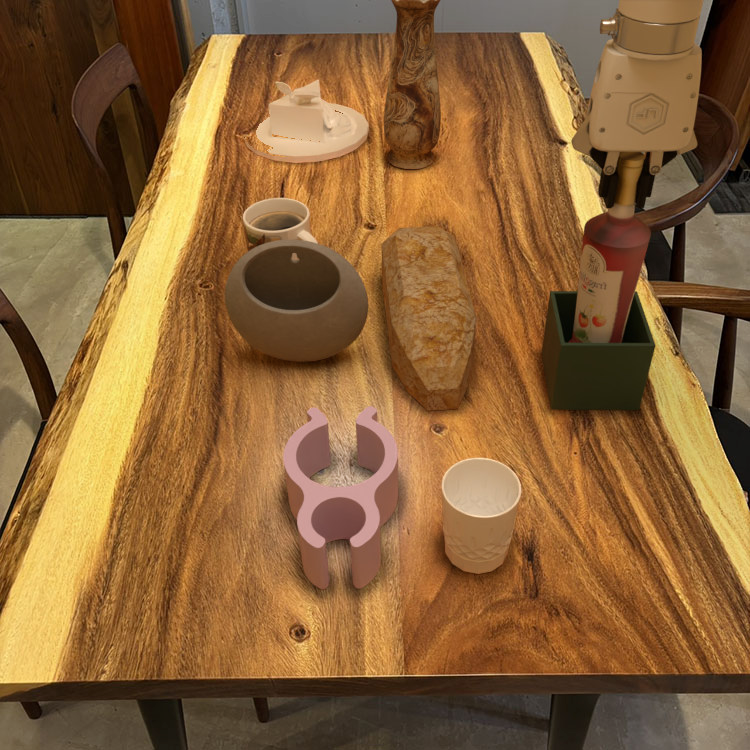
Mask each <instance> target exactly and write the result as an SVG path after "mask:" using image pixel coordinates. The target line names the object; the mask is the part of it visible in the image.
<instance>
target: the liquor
mask: <svg viewBox="0 0 750 750" xmlns="http://www.w3.org/2000/svg"><path fill="white" fill-rule="evenodd" d="M644 157H645V153H643V152H620V153H619V157H618V161H617V165H616V167H617V173H618V175H619V180H618V185H617V191H616V196H615V202H614V207H612V208H607V211H606V212H602V213H600V214H598V215H595V216H593V217H590V219H588V220H587V221H586V222H585V223H584V225H583V226H584V227H583V235H582V244H581V253H580V261H579V271H578V272H579V273H578V282H577V283H578V284H577V291H578V295H577V303H576V312H575V320H574V328H573V335H572V339H571V340H570V341H569V343H621V342H622V338H623V334H624V330H625V326H626V322H627V318H628V315H629V311H630V307H631V303H632V300H633V297H634V293H635V291H637V287H638V283H639V280H640V276H641V274H642V269H643V265H644V262H645V257H646V253H647V251H648V248H649V247H648V246H649V243H650V240H651V235H652V232H651V229H650V227H649V226H648V225H647V224H646V223H645V222H644V221H643V220H641V219H640V218H639V217H638V216H636V215H635V208H636V204H635V200H636V190H637V182H638V180H639V177H640V174H641V172H642V167H643V162H644Z"/></svg>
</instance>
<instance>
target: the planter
mask: <svg viewBox="0 0 750 750" xmlns="http://www.w3.org/2000/svg"><path fill="white" fill-rule="evenodd" d="M292 253H296V254H297V258H298V259H299V260H293V259H291V258H292V255H293V254H292ZM224 288H225V289H224V290H225V291H224V303H225V308H226V312H227V315H228V318H229V320H230V322H231V324H232V325H233V327H234V329H235V330H236V332H237V333H238V334H239V336H240V337H241V338H242V339H243V340H244V341H245V342H247V343H248V344H249V346H250V345H251V347H253V348H254V349H256V350H257V351H259V352H261V353H263V354H265V355H267V356H269V357H272V358H276V359H279V360H283V361H289V362H296V363H297V362H299V363H303V362H304V363H306V362H307V363H308V362H316V361H320V360H325V359H328V358H331V357H333V356H335V355H337V354H340V353H341V352H343V351H345V350H346V349H347V348H348V347H350V346H352V344H353V343H354V342H355V341H356V340H357V339H358V338H359V336H360V335H361V333H362V332H363V330H364V327H365V325H366V323H367V319H368V313H369V298H368V293H367V290H366V286H365V284H364V281H363V279H362V277H361V276H360V274H359V272H358V271H357V269H356V268H355V267H354V266H353V265H352V264H351V262H349V260H348V259H346V258H345V256H343V255H342V254H340V253H338V252H337V251H335V250H334V249H333V248H330V247H328V246H326V245H323V244H320V243H318V244H317V243H314V242H309V241H304V240H278V241H273V242H268V243H265V244H262V245H259V246H257V247H255V248H253V249H251V250H250V251H248V252H247V251H246V252H245V253H244V254H243V255H242V256H241V257H240V258H239V259H238V260H237V261H236V262H235V264H233V267H232V269H231V270H230V272H229V274H228V277H227V279H226V284H225V287H224Z"/></svg>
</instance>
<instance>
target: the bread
mask: <svg viewBox="0 0 750 750" xmlns="http://www.w3.org/2000/svg"><path fill="white" fill-rule="evenodd" d="M380 246H381V247H380V248H381V249H380V250H381V286H382V293H383V302H384V309H385V316H386V317H385V318H386V325H387V326H386V327H387V335H388V341H389V343H388V344H389V351H390V358H391V365H392V368H393V369H394V372H395V373H396V376H397V377H398V378H399V380H400V382H401V384H402V386H403V387H404V389H405V391H406V392H407V393H408V394H409V395H410V396H412V398H414V399H415V400H416V402H418V403H419V404H420V405H421V406H422V408H424V409H425V410H426V411H442V410H443V411H444V410H458V408H459V407H460V405H461V403H462V401H463V398H464V397H465V394H466V392H467V390H468V388H469V384H470V381H471V380H470V379H471V375H472V371H473V365H474V364H473V363H474V356H475V341H476V340H475V339H476V327H477V325H476V324H477V317H476V316H477V315H476V312H475V308H474V304H473V301H472V297H471V296H472V295H471V293H470V288H469V286H468V282H467V277H466V274H465V269H464V265H463V262H462V258H461V255H460V251H459V246H458V243H457V239H456V238H455V237H454V235H452V234H451V233H450V232H448V231H447V230H445V229H443V228H442V227H440V226H438V225H429V226H428V225H427V226H413V227H411V226H409V227H408V226H407V227H398V228H397V229H396V230H394V232H392V233H391V234H390V235H389V236H388V237H387V238H386V239H385V240H384V241H382V242H381V244H380Z"/></svg>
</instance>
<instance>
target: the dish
mask: <svg viewBox="0 0 750 750" xmlns="http://www.w3.org/2000/svg"><path fill="white" fill-rule="evenodd" d="M274 84H275V86H276V88H277V89H278V91H279V92H281V93H282V94H284V95H283V96H282V97H280V98H278V99H276V100H274V101H272V102H270V103H268V109H269V114H270V117H268V118H267V119H266V120H264V121H263V122H262V123H260V124H259V126H258V128H257V130H256V135H257V138H258V139H259V140H260V141H261V142H263V143H264V144H266V145H269V146H271V147H273V149H272V148H271V150H270V149H268V150H269V151H268V150H267V151H268V152H269V153H271V154H274V155H280V156H285V157H280V156H272V155H270V154H267V153H264V152H261V151H258V150H255V149H254V148H253V147H252V146H250V145H249V144H248V143H247V142H246V141H245V138H244V135H243V134H242V136H243V140H244V144H245V147H246V148H247V149H249V150H250V151H251V152H253V154H255V155H256V156H259V157H262V158H265V159H268V160H271V161H275V162H283V163H292V164H298V163H299V164H300V163H319V162H323V161H327V160H332V159H336V158H341V157H342V156H345V155H347V154H349V153H352V152H354V151H356V150H358V149H359V148H360V147H361V145H363V144H364V143H365V142H366V141H367V139H368V135H369V131H370V127H369V125H370V124H369V123H368V121H367V119H366V117H365V115H364V114H362V113H361V112H359V111H357V110H355V109H354V108H352V107H349V106H346V105H343V104H338V103H334V102H333V103H332V102H328V101H326V100H324V99H323V98H322V95H321V87H320V85H321V84H320V79H316V80H314V81H312V82H310V83H308V84H307V85H306V84H305V85H304V86H302V87H298V88H294V89H293V90H292V88H291V87H290V85H289V84H287V83H285V82H283V81H275V82H274ZM335 110H336V111H339V112H341V113H339V112H335ZM342 113H343V114H342ZM272 134H274V135H279V136H283V137H288V138H282V137H273V136H272ZM291 138H295V139H291ZM301 139H302V140H301ZM310 140H311V141H310ZM319 141H320V142H319ZM289 157H291V158H289Z"/></svg>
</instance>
